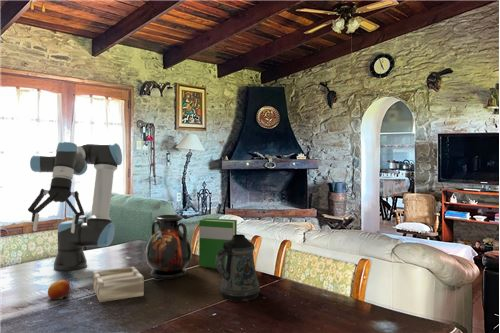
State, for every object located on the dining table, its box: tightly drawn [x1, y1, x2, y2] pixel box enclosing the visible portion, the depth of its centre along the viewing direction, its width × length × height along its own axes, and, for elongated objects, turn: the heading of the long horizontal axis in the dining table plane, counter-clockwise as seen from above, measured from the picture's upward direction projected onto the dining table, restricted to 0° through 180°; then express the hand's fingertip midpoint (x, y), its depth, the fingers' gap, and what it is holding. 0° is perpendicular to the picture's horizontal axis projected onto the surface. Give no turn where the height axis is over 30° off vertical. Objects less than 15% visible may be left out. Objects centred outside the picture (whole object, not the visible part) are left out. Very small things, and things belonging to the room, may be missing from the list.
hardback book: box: [198, 217, 238, 269], centre depth 209 cm, size 18×7×24 cm, turn 76°
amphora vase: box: [145, 214, 192, 280], centre depth 194 cm, size 22×22×28 cm
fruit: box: [47, 279, 71, 300], centre depth 162 cm, size 8×8×8 cm
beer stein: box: [216, 233, 261, 302], centre depth 167 cm, size 16×19×25 cm
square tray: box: [92, 266, 145, 303], centre depth 169 cm, size 17×17×8 cm
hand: (53, 231), depth 158 cm, fingers open, 13 cm apart
